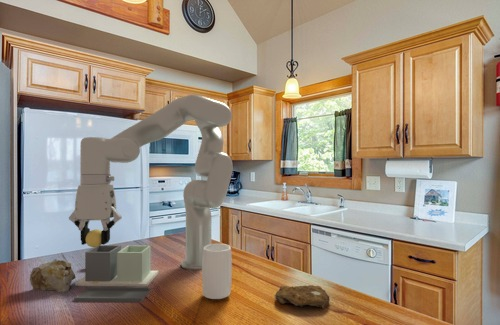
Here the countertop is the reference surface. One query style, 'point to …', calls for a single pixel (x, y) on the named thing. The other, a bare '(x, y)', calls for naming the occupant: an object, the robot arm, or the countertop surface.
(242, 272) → the countertop surface
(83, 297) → the mat
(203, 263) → the cup
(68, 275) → the rock
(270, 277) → the countertop surface
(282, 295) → the decorative rock
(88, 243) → the mustard ball
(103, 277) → the grey double box
